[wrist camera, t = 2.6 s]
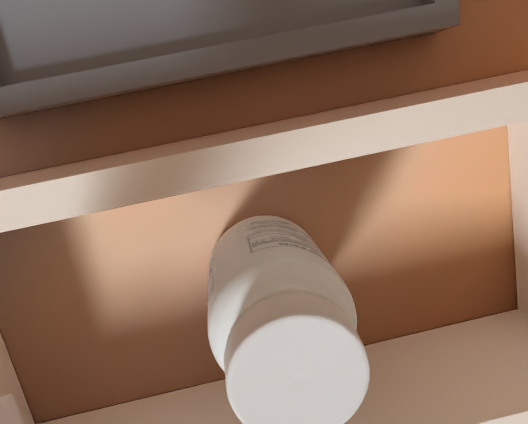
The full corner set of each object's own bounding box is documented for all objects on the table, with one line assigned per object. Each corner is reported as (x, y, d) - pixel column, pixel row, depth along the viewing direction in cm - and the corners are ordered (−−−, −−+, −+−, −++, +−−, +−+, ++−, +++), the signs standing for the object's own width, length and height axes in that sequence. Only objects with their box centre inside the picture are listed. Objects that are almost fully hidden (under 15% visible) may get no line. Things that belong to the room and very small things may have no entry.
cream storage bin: (18, 450, 18) (-62, 589, 13) (-83, 195, 16) (-236, 239, 10) (540, 324, 20) (660, 403, 14) (528, 69, 17) (670, 52, 12)
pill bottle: (262, 337, 18) (295, 493, 11) (185, 267, 17) (163, 388, 10) (340, 265, 18) (428, 375, 11) (266, 190, 17) (306, 253, 10)
